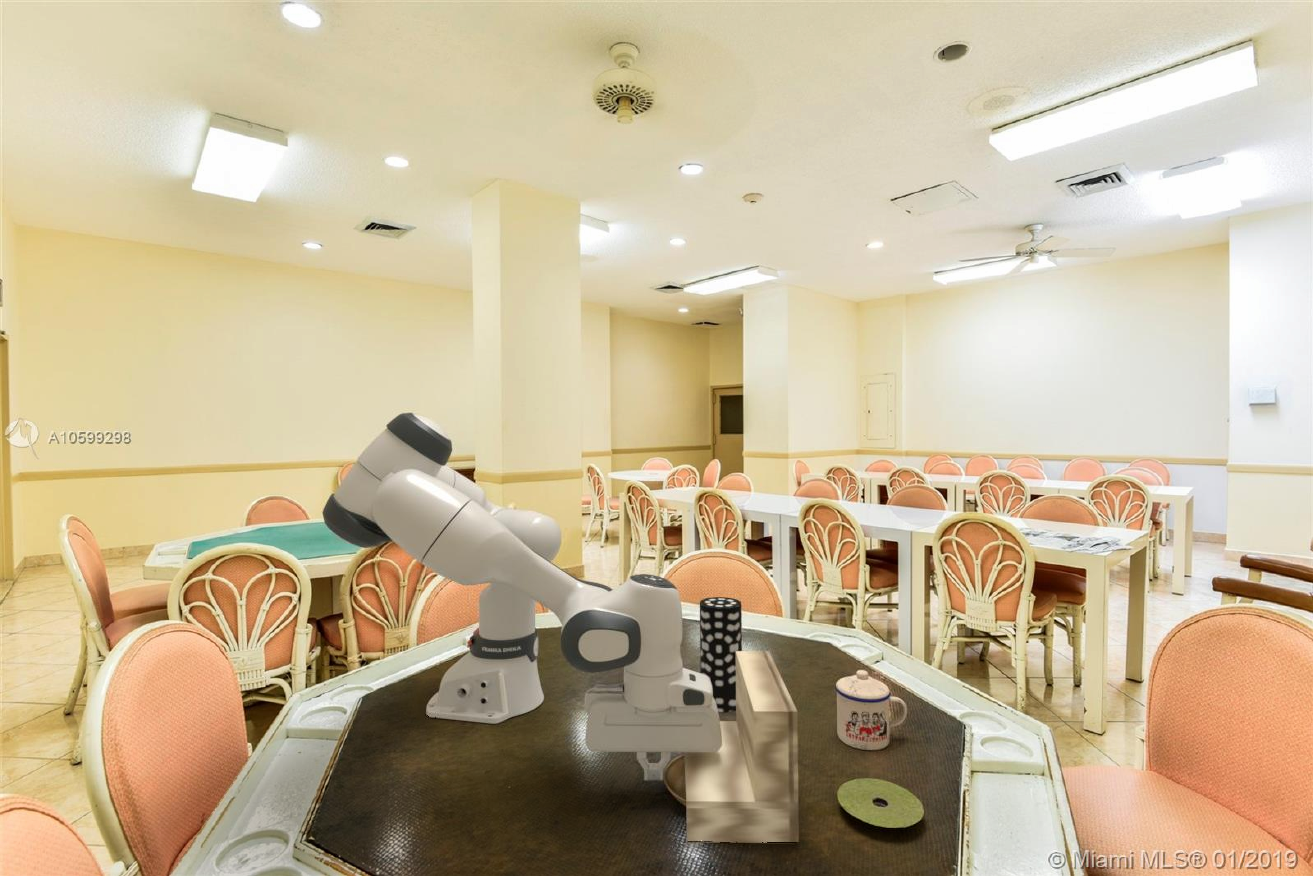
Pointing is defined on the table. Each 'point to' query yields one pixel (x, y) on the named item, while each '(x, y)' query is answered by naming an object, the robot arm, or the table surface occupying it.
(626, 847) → the table surface
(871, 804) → the green disc with hole
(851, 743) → the teacup with lid
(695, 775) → the wooden step block
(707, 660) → the white-spotted black cylinder
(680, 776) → the plant saucer
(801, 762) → the table surface
